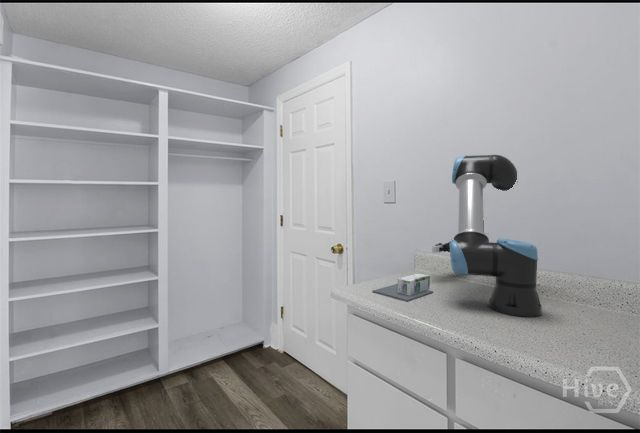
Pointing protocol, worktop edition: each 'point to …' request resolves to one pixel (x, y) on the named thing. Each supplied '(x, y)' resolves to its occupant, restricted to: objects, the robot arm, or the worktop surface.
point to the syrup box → (413, 284)
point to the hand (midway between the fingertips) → (433, 249)
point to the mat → (392, 292)
